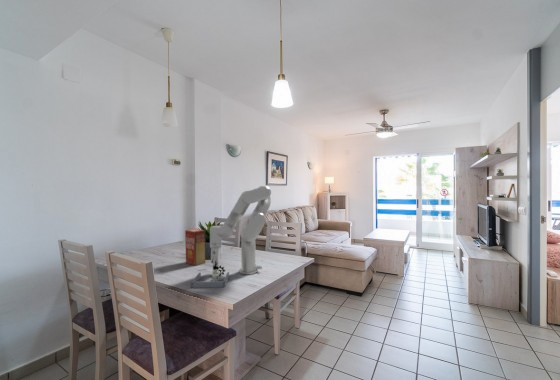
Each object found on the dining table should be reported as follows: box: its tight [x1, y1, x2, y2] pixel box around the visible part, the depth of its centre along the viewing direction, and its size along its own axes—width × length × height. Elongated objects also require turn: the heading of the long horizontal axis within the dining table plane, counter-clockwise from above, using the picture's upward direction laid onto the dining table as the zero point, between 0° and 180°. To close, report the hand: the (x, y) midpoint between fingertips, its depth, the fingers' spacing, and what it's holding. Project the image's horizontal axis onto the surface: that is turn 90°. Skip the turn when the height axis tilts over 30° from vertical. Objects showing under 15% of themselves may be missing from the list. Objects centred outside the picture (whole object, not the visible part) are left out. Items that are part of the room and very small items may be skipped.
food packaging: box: [184, 228, 206, 267], centre depth 196 cm, size 13×9×25 cm
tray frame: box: [190, 271, 230, 289], centre depth 157 cm, size 19×17×3 cm
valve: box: [211, 264, 226, 281], centre depth 162 cm, size 7×7×12 cm
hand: (215, 272), depth 171 cm, fingers closed
